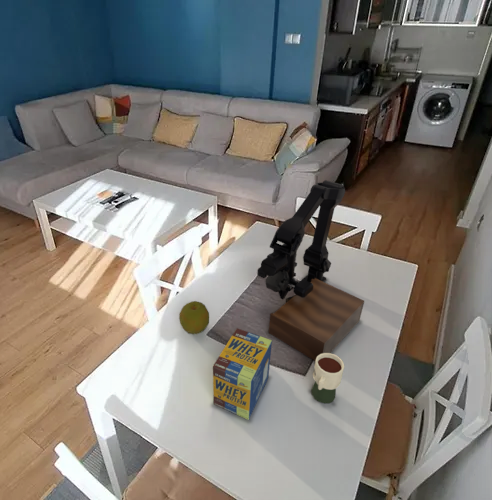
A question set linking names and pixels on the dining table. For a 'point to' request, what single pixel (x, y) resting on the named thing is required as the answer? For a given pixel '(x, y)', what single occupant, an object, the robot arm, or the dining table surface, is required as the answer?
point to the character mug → (327, 377)
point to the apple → (194, 317)
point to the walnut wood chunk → (316, 319)
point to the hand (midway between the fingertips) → (282, 298)
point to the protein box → (241, 372)
